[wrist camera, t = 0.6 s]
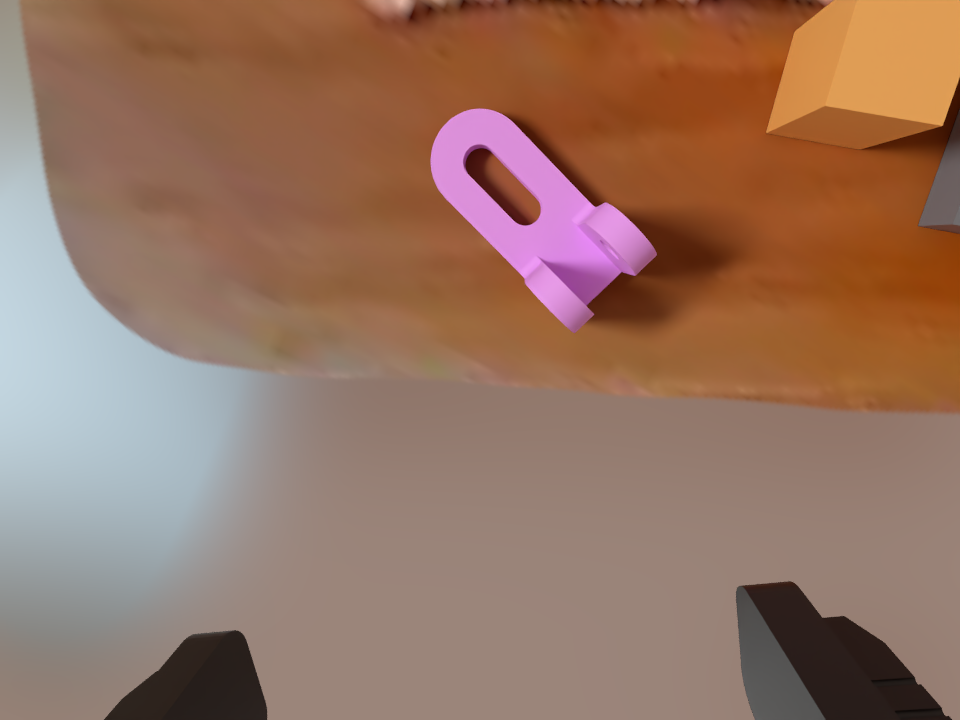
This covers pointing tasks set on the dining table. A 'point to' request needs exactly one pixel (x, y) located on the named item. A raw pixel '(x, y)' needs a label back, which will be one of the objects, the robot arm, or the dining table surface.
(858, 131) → the orange wooden cube
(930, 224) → the mounting plate
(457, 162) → the bracket
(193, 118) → the dining table surface
